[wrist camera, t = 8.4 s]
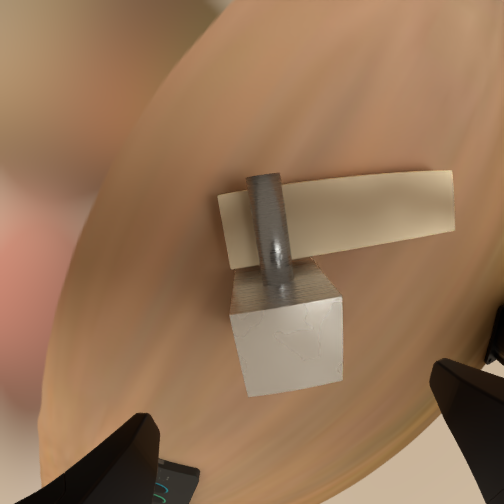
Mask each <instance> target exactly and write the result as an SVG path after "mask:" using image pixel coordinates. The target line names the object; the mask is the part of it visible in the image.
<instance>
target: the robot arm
mask: <svg viewBox="0 0 504 504" xmlns="http://www.w3.org/2000/svg"><path fill="white" fill-rule="evenodd" d="M495 360H498V361H499V362H500V363H501V364H502V365H504V304H503V305H501V306H500V308H499V309H498V313H497V317H496V322H495V326H494V330H493V334H492V337H491V341H490V345H489V348H488V351H487V355H486V358H485V361H484V362H485V363H486V364H487V365H488V364H490V363H492V362H493V361H495ZM429 383H430V387H431V390H432V392H433V394H434V396H435V399H436V401H437V403H438V406H439V408H440V410H441V413H442V415H443V417H444V419H445V421H446V424H447V425H448V427H449V429H450V431H451V433H452V434H453V436H454V438H455V440H456V442H457V444H458V446H459V448H460V449H461V452H462V453H463V455H464V457H465V459H466V461H467V463H468V465H469V467H470V469H471V472H472V474H473V476H474V478H475V480H476V482H477V484H478V487H479V489H480V491H481V493H482V495H483V498H484V500H485V503H487V504H504V378H503V377H499V376H496V375H493V374H491V373H488V372H484V371H482V370H479V369H476V368H473V367H470V366H467V365H464V364H462V363H459V362H456V361H453V360H450V359H447V358H443V359H440V360H438V361H436V362H435V363H434V365H433V368H432V372H431V376H430V380H429ZM159 442H160V431H159V429H158V427H157V425H156V423H155V422H154V420H153V418H152V416H151V415H150V414H149V413H136V414H135V415H134V416H132V417H131V418H130V419H129V420H128V421H127V422H125V423H124V424H123V425H122V426H121V427H120V428H118V429H117V430H116V431H115V432H114V433H112V434H111V435H110V436H109V437H108V438H107V439H105V440H104V441H103V442H102V443H100V444H99V445H98V446H97V447H96V448H94V449H93V450H92V451H91V452H89V453H88V454H87V455H86V456H85V457H83V458H82V459H81V460H80V461H78V462H77V463H76V464H75V465H73V466H72V467H71V468H69V469H68V470H67V471H66V472H65V473H63V474H62V475H60V476H59V477H58V478H56V479H55V480H54V481H52V482H51V483H49V484H48V485H46V486H45V487H43V488H42V489H40V490H38V491H37V492H35V493H33V494H31V495H30V496H28V497H26V498H24V499H22V500H20V501H18V502H17V503H15V504H152V501H153V495H154V490H155V484H156V479H157V471H158V456H159Z"/></svg>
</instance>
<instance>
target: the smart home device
mask: <svg viewBox="0 0 504 504" xmlns="http://www.w3.org/2000/svg"><path fill="white" fill-rule="evenodd" d="M199 475H200V471H199V469H197V468H193V467H189V466H185V465H181V464H177V463H173V462H169V461H166V460H162V459H159V458H158V471H157V479H156V484H155V490H154V495H153V501H152V504H189V502H190V500H191V498H192V495H193V493H194V491H195V489H196V487H197V484H198V482H199Z"/></svg>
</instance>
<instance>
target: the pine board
mask: <svg viewBox="0 0 504 504" xmlns="http://www.w3.org/2000/svg"><path fill="white" fill-rule="evenodd" d="M282 191H283V197H284V204H285V211H286V218H287V225H288V233H289V240H290V248H291V256H292V259H298V258H304V257H310V256H316V255H322V254H328V253H334V252H340V251H346V250H351V249H357V248H363V247H368V246H374V245H380V244H385V243H391V242H396V241H402V240H407V239H413V238H418V237H424V236H429V235H434V234H440V233H445V232H450V231H455V204H454V187H453V176H452V170H429V171H409V172H393V173H380V174H367V175H356V176H346V177H337V178H327V179H319V180H311V181H303V182H295V183H288V184H282ZM217 197H218V203H219V209H220V214H221V220H222V225H223V231H224V236H225V242H226V247H227V253H228V258H229V263H230V268H231V269H237V268H243V267H249V266H255V265H260V264H259V258H258V251H257V245H256V239H255V233H254V226H253V220H252V214H251V208H250V201H249V195H248V190H242V191H236V192H230V193H224V194H220V195H218V196H217Z"/></svg>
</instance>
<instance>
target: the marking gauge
mask: <svg viewBox="0 0 504 504" xmlns="http://www.w3.org/2000/svg"><path fill="white" fill-rule="evenodd" d="M246 183H247V189H248V195H249V201H250V208H251V214H252V220H253V226H254V233H255V239H256V245H257V251H258V258H259V264H260V265H255V266H249V267H243V268H237V269H235V274H234V282H233V290H232V298H231V305H230V313H229V316H230V321H231V325H232V330H233V334H234V339H235V343H236V348H237V352H238V356H239V361H240V365H241V369H242V374H243V378H244V382H245V386H246V390H247V394H248V397H254V396H262V395H269V394H276V393H282V392H288V391H294V390H300V389H305V388H310V387H315V386H320V385H325V384H329V383H334V382H338V381H342V379H343V307H342V295H341V294H340V293H339V292H338V290H337V289H336V288H335V287H334V285H333V284H332V283H331V282H330V281H329V279H328V278H327V277H326V276H325V274H324V273H323V272H322V271H321V270H320V268H319V267H318V266H317V265H316V264H315V262H314V261H313V260H312V259H311V258H310V257H304V258H298V259H292V256H291V248H290V240H289V233H288V225H287V218H286V211H285V204H284V197H283V191H282V184H281V178H280V173H272V174H265V175H258V176H252V177H247V178H246Z"/></svg>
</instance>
